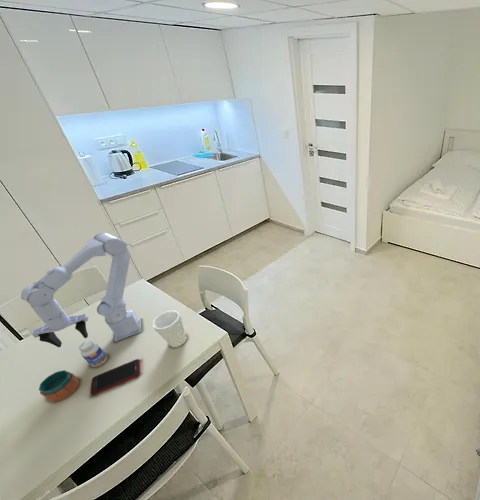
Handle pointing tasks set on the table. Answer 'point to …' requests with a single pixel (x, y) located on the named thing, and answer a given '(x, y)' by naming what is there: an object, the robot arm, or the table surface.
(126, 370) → the cell phone
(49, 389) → the orange and teal bowl
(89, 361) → the pill bottle
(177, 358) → the table surface
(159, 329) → the foam cup
